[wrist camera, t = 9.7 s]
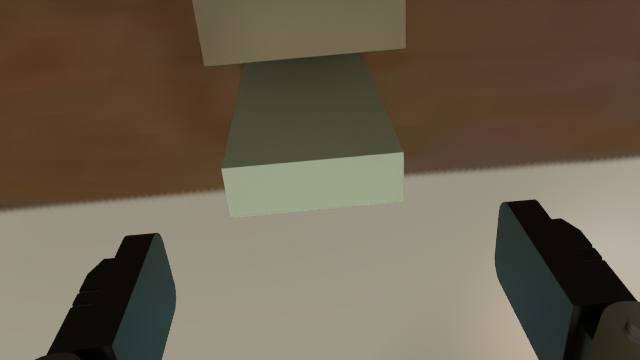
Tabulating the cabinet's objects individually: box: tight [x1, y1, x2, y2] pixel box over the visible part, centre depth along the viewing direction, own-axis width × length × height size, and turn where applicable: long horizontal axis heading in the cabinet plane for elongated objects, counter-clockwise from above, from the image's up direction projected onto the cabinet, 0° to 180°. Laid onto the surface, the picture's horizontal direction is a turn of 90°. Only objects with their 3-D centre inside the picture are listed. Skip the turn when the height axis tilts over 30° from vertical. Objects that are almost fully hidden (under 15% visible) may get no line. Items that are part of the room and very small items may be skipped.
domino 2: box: [222, 52, 404, 218], centre depth 20 cm, size 2×5×10 cm, turn 95°
